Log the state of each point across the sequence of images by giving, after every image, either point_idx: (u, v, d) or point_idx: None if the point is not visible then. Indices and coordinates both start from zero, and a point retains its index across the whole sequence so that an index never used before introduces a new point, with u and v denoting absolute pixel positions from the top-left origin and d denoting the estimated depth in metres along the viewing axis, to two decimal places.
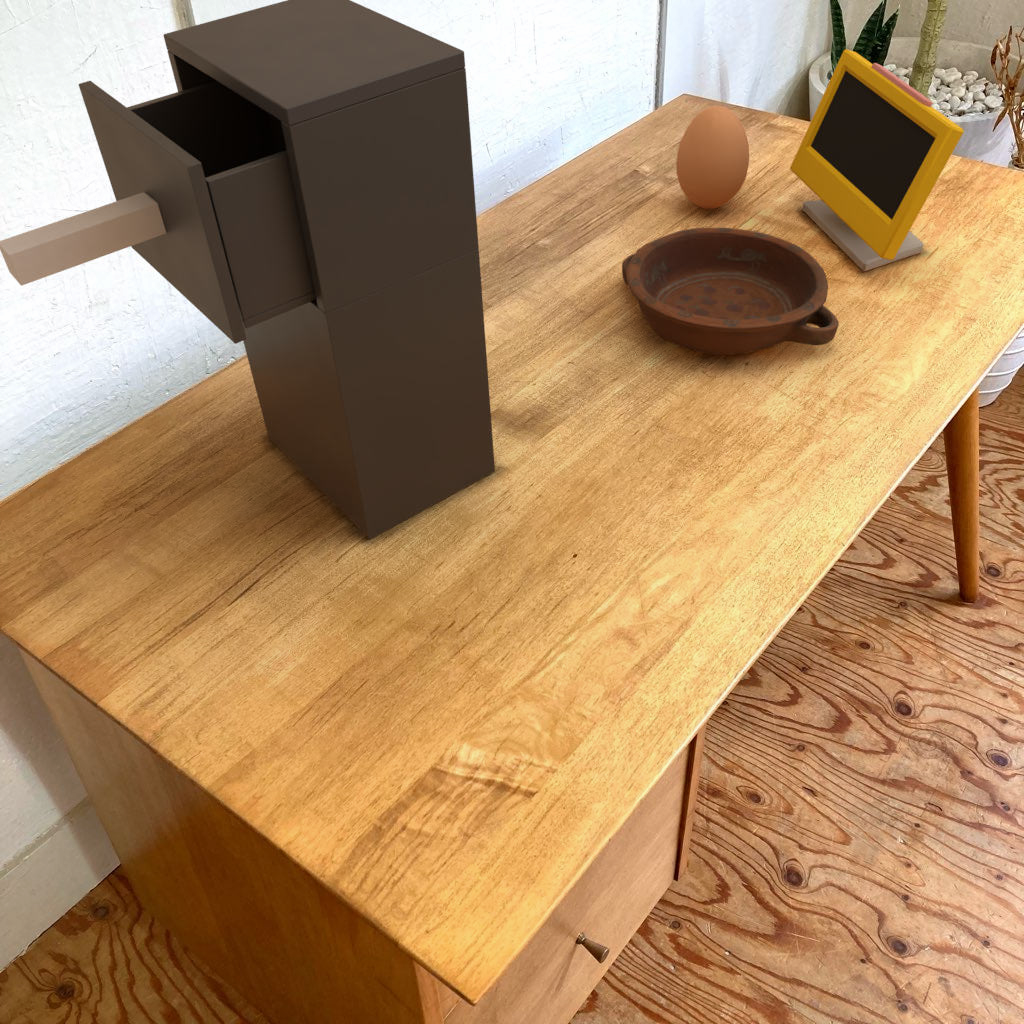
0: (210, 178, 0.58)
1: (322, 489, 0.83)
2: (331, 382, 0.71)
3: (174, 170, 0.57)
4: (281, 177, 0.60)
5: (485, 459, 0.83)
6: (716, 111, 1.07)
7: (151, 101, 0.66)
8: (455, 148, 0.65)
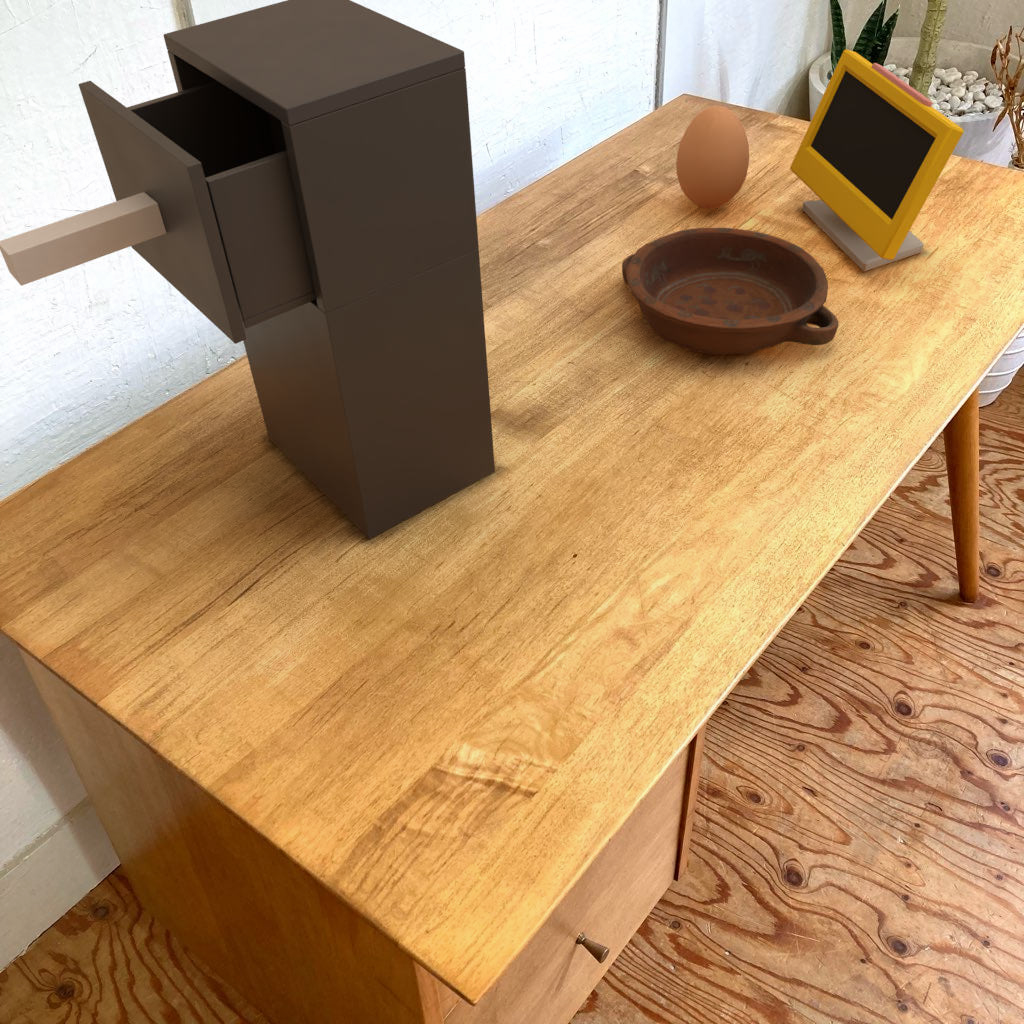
0: (210, 178, 0.58)
1: (322, 489, 0.83)
2: (331, 382, 0.71)
3: (174, 170, 0.57)
4: (281, 177, 0.60)
5: (485, 459, 0.83)
6: (716, 111, 1.07)
7: (151, 101, 0.66)
8: (455, 148, 0.65)
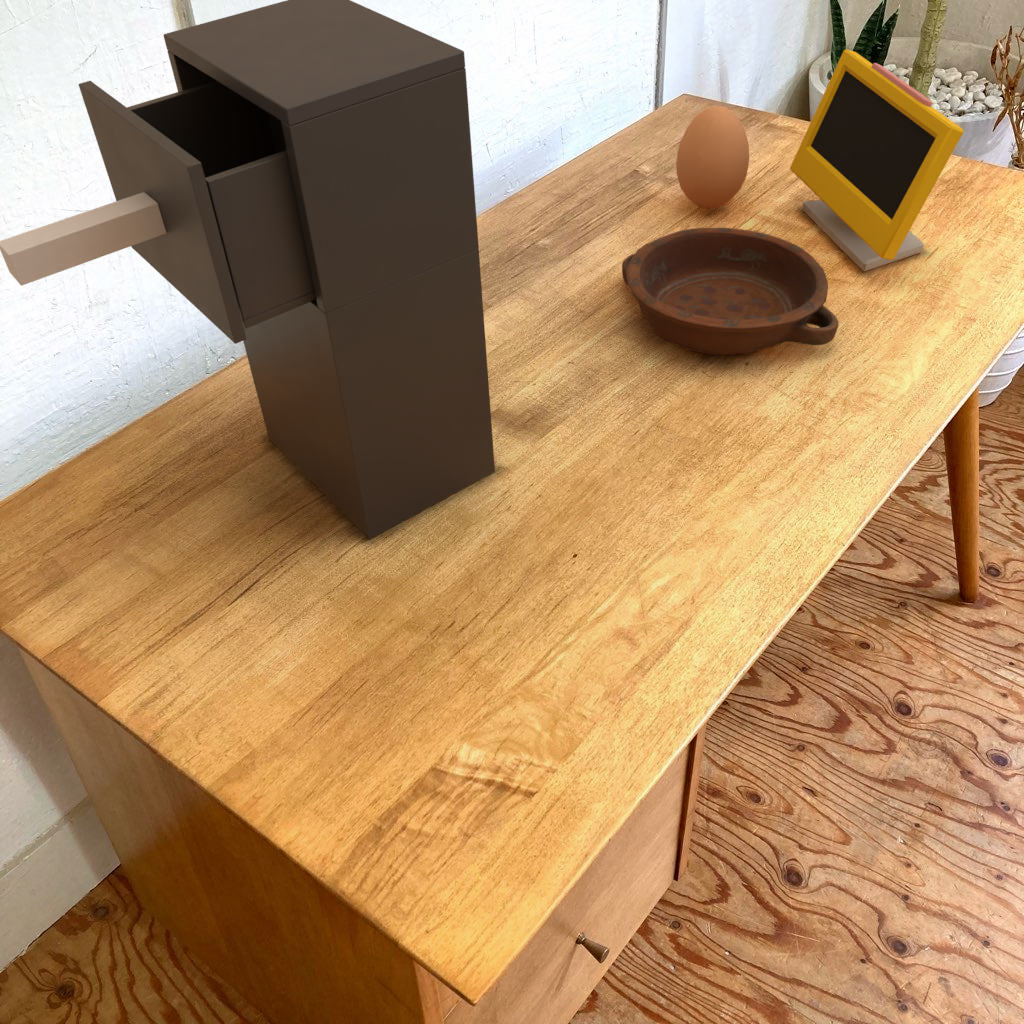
0: (210, 178, 0.58)
1: (322, 489, 0.83)
2: (331, 382, 0.71)
3: (174, 170, 0.57)
4: (281, 177, 0.60)
5: (485, 459, 0.83)
6: (716, 111, 1.07)
7: (151, 101, 0.66)
8: (455, 148, 0.65)
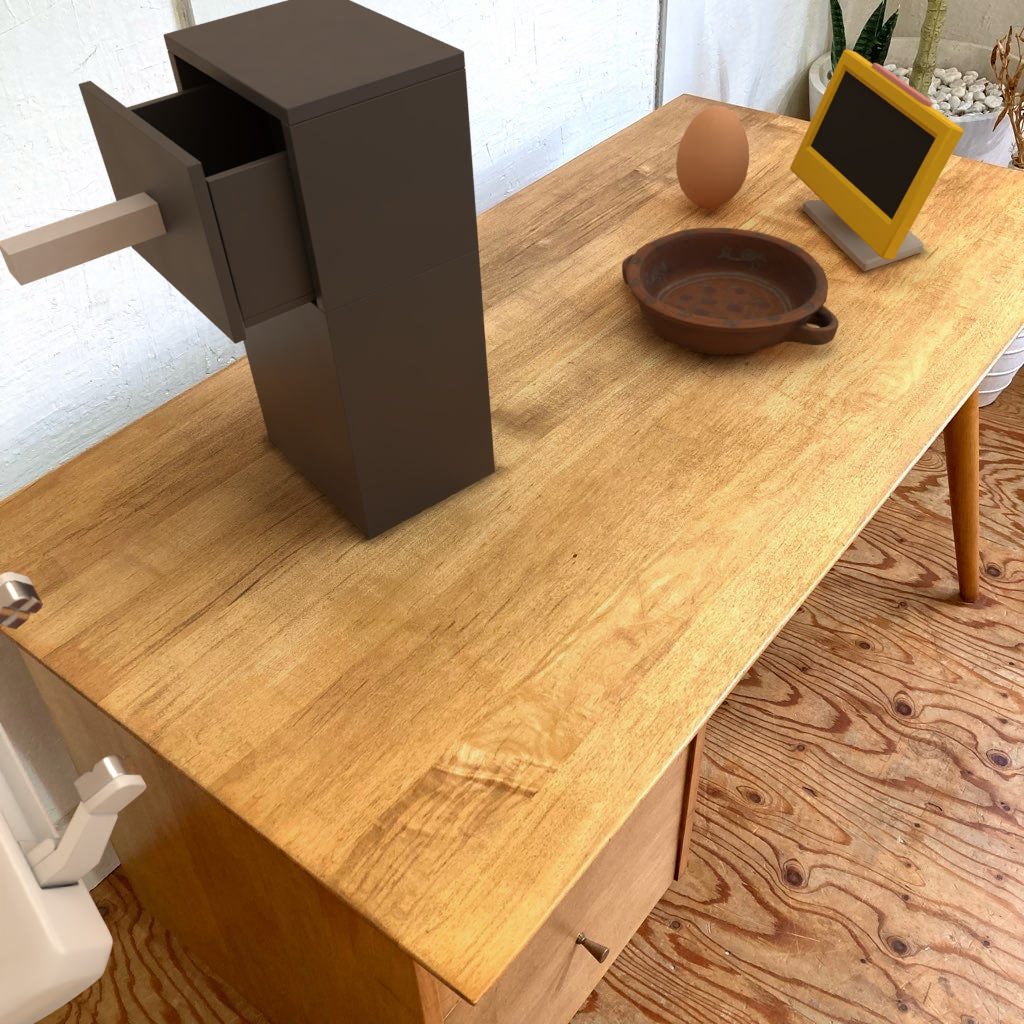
0: (210, 178, 0.58)
1: (322, 489, 0.83)
2: (331, 382, 0.71)
3: (174, 170, 0.57)
4: (281, 177, 0.60)
5: (485, 459, 0.83)
6: (716, 111, 1.07)
7: (151, 101, 0.66)
8: (455, 148, 0.65)
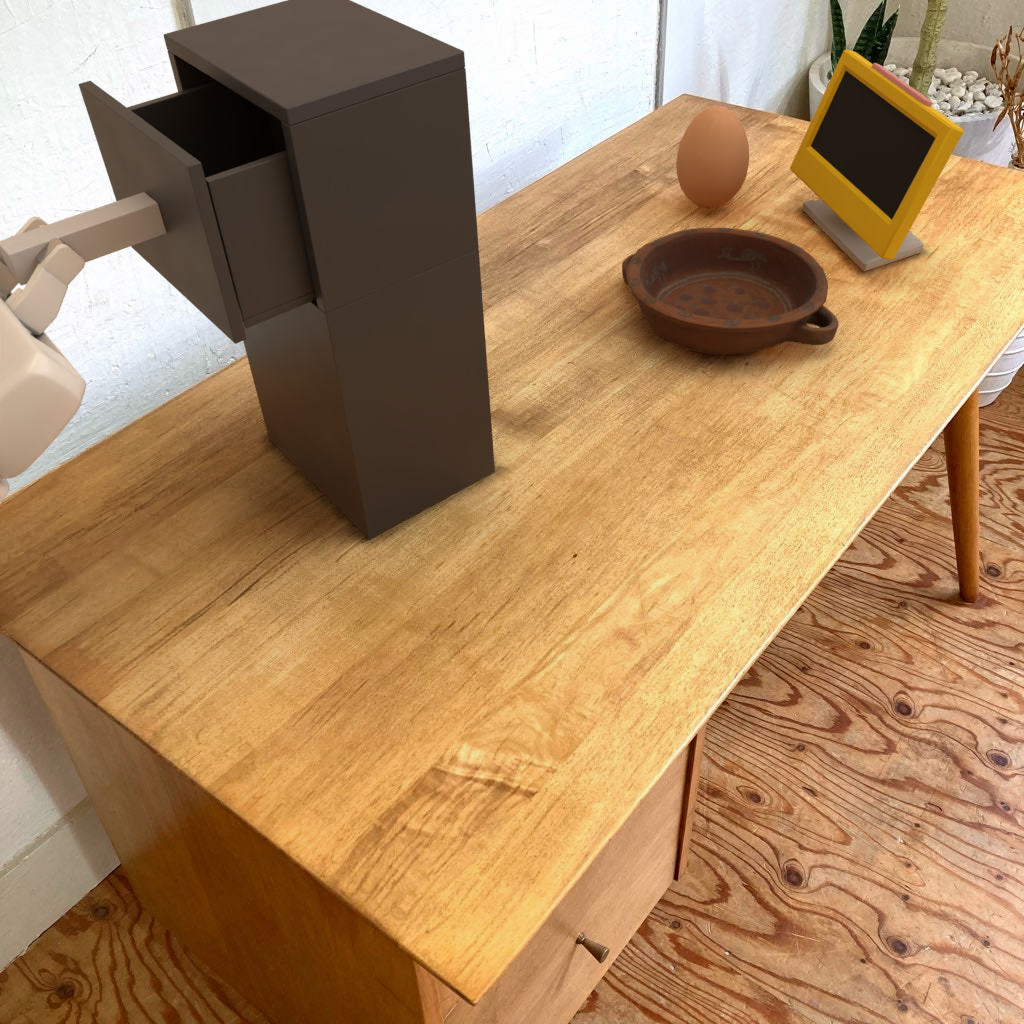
0: (210, 178, 0.58)
1: (322, 489, 0.83)
2: (331, 382, 0.71)
3: (174, 170, 0.57)
4: (281, 177, 0.60)
5: (485, 459, 0.83)
6: (716, 111, 1.07)
7: (151, 101, 0.66)
8: (455, 148, 0.65)
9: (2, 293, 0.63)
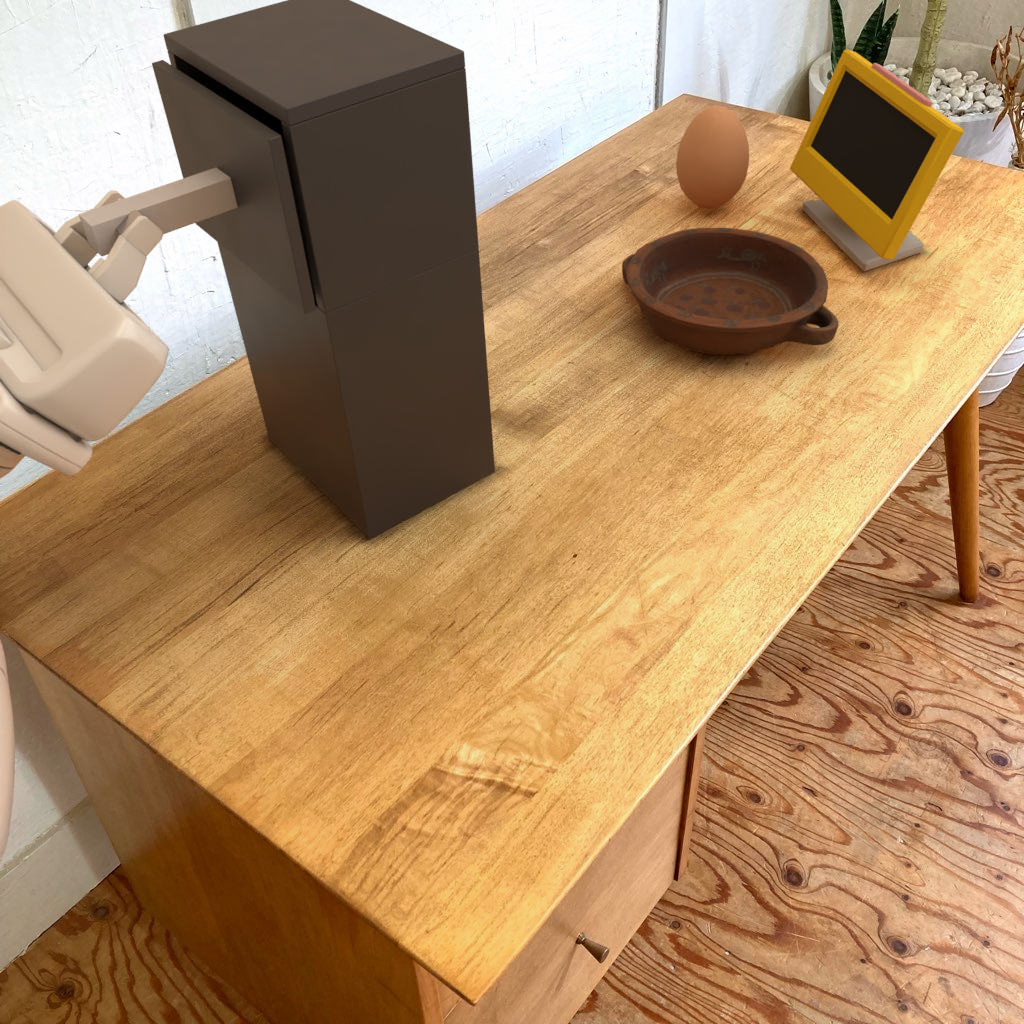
0: None
1: (322, 489, 0.83)
2: (331, 382, 0.71)
3: (253, 143, 0.59)
4: None
5: (485, 459, 0.83)
6: (716, 111, 1.07)
7: None
8: (455, 148, 0.65)
9: (80, 265, 0.65)
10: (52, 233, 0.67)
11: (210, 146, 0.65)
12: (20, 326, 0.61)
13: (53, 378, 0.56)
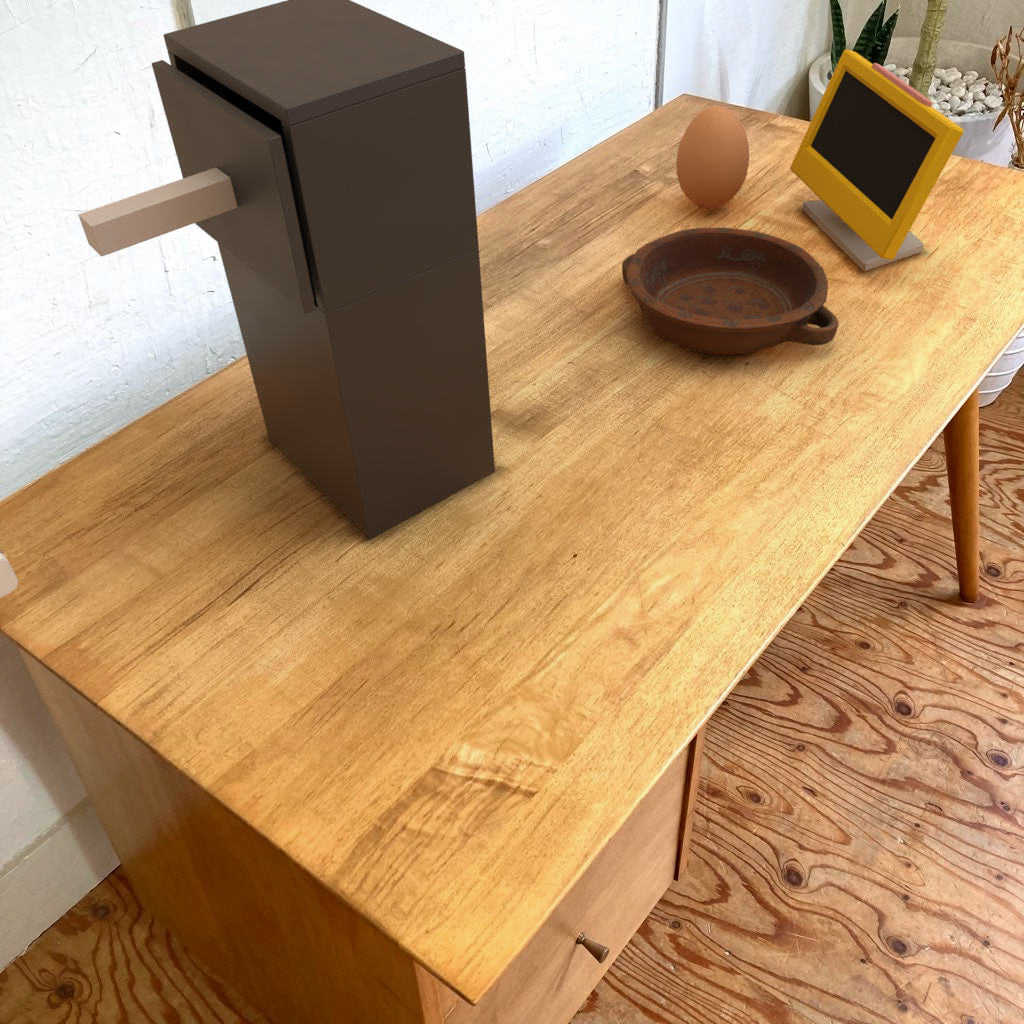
0: None
1: (322, 489, 0.83)
2: (331, 382, 0.71)
3: (253, 144, 0.59)
4: None
5: (485, 459, 0.83)
6: (716, 111, 1.07)
7: None
8: (455, 148, 0.65)
9: None
10: None
11: (210, 146, 0.65)
12: None
13: None
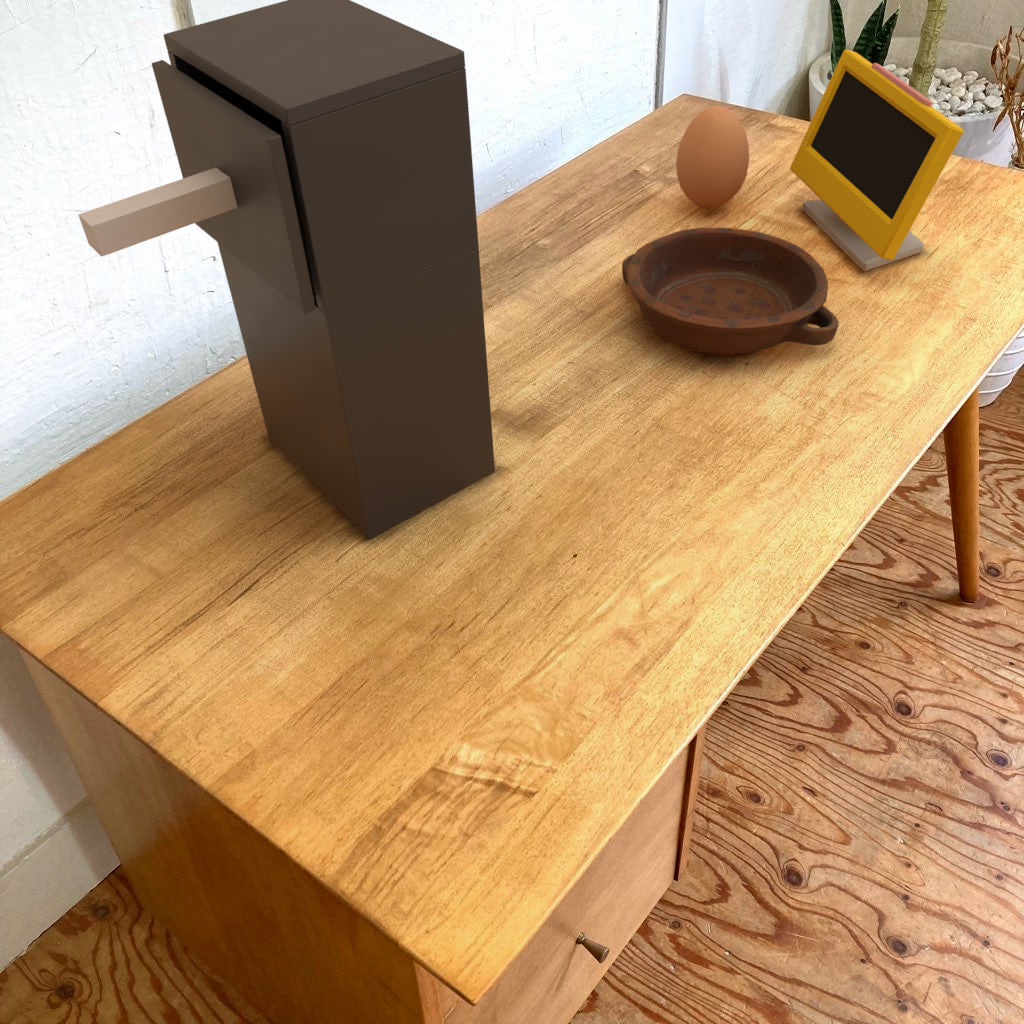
0: None
1: (322, 489, 0.83)
2: (331, 382, 0.71)
3: (253, 144, 0.59)
4: None
5: (485, 459, 0.83)
6: (716, 111, 1.07)
7: None
8: (455, 148, 0.65)
9: None
10: None
11: (210, 146, 0.65)
12: None
13: None
